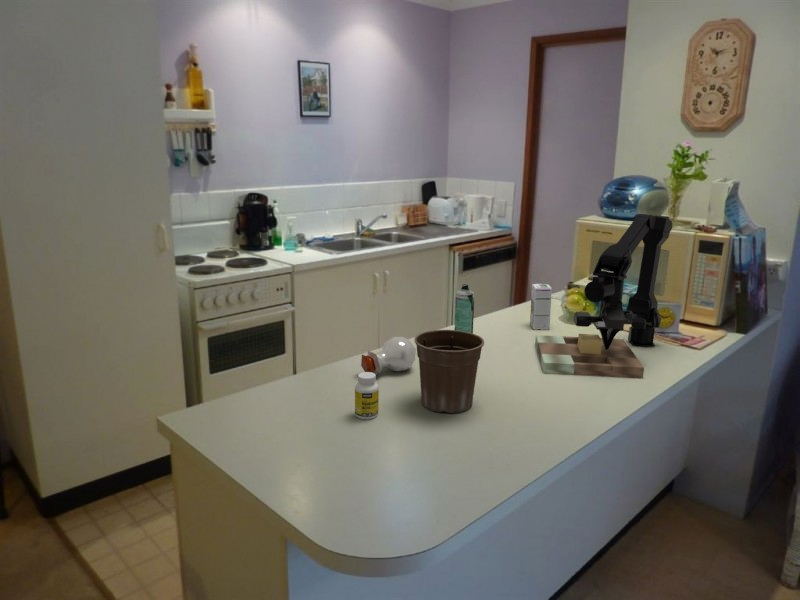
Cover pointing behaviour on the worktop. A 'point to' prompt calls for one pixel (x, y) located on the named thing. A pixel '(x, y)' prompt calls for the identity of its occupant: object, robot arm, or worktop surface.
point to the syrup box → (540, 306)
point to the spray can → (464, 309)
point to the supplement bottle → (366, 396)
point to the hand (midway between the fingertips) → (606, 349)
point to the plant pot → (448, 368)
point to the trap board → (586, 358)
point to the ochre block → (589, 343)
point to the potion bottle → (390, 356)
